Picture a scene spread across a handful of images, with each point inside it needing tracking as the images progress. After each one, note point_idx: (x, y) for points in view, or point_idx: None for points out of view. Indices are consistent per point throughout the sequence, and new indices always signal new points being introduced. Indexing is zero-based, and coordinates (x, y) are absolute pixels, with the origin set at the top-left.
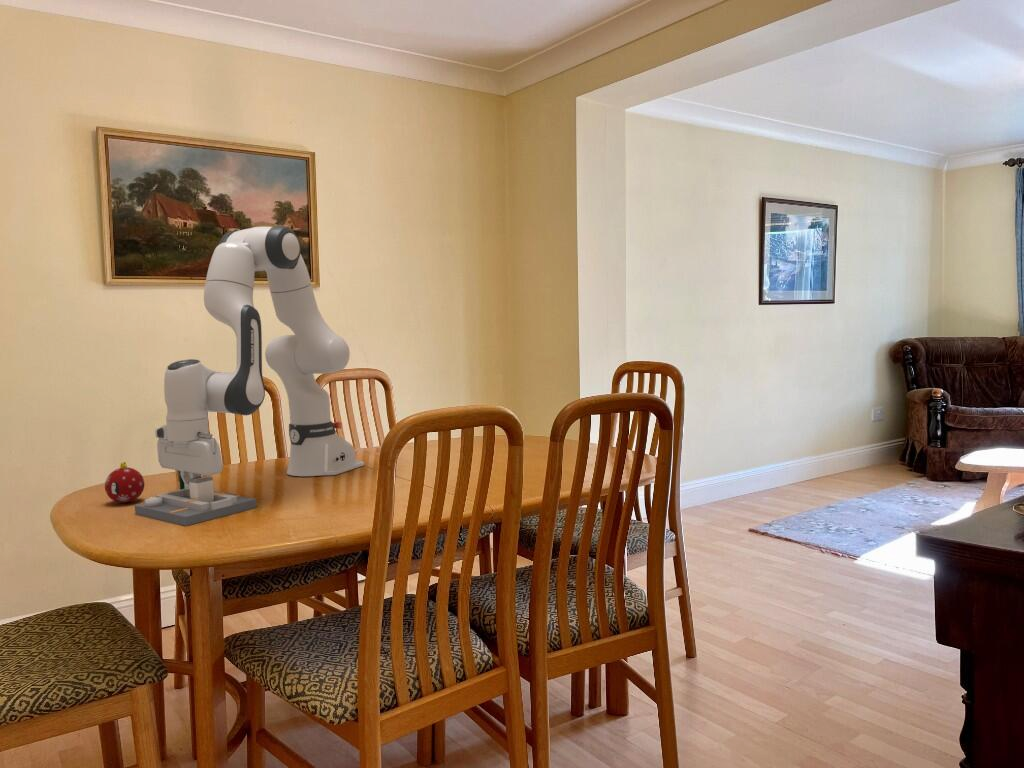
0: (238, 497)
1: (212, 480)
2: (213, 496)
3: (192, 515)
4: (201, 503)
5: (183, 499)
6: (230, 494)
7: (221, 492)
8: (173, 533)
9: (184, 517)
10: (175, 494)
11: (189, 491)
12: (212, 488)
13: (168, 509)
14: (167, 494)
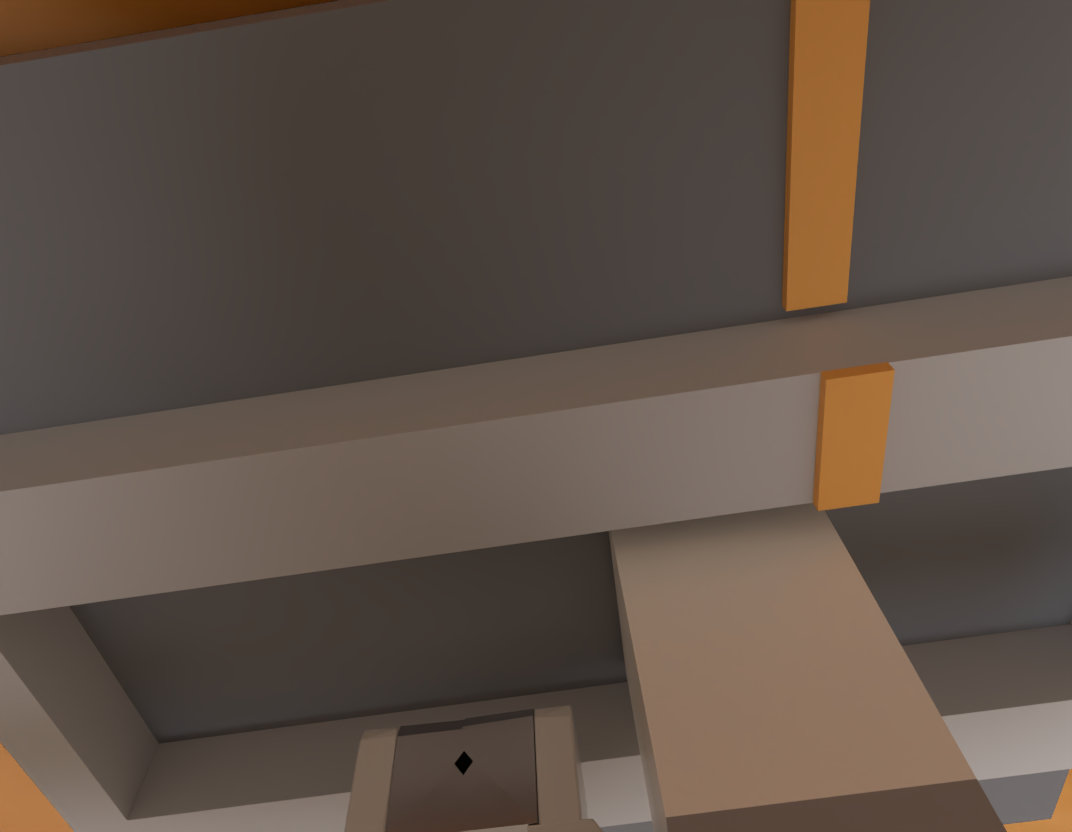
0: (901, 39)
1: (974, 777)
2: (830, 526)
3: (1063, 773)
4: (1042, 747)
5: (638, 794)
6: (508, 12)
7: (152, 46)
8: (1067, 827)
9: (1026, 813)
10: (80, 703)
11: (95, 591)
12: (889, 639)
13: (630, 826)
14: (172, 817)
